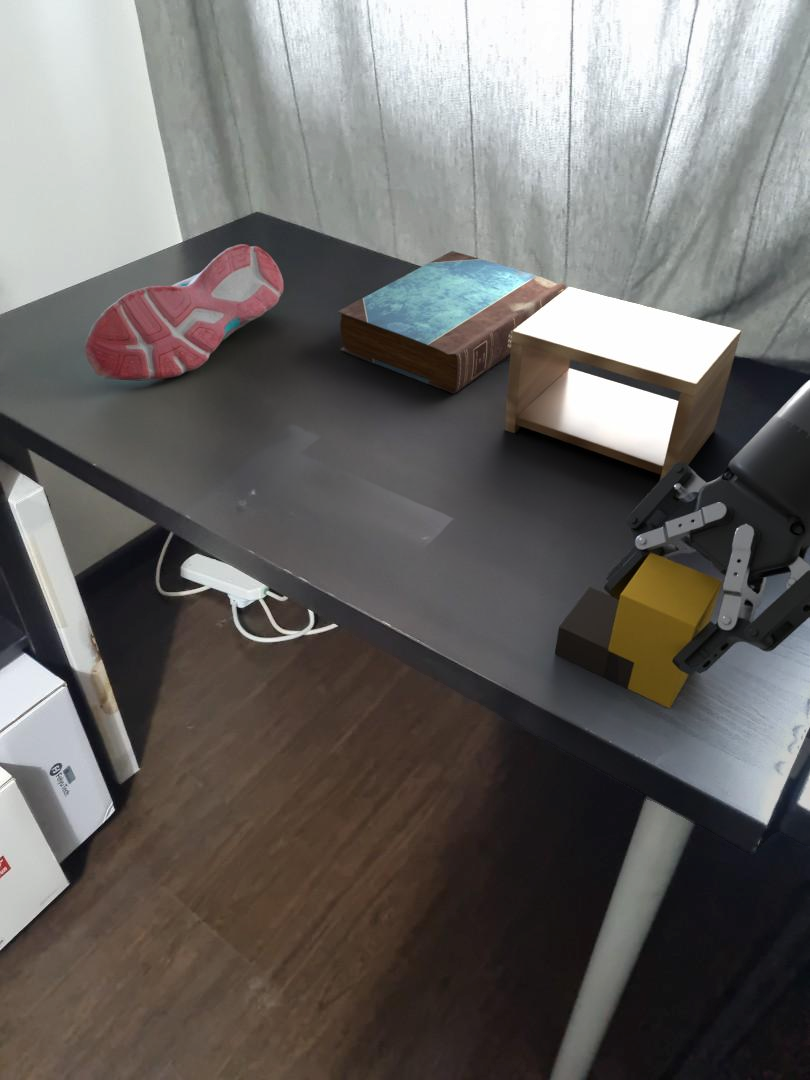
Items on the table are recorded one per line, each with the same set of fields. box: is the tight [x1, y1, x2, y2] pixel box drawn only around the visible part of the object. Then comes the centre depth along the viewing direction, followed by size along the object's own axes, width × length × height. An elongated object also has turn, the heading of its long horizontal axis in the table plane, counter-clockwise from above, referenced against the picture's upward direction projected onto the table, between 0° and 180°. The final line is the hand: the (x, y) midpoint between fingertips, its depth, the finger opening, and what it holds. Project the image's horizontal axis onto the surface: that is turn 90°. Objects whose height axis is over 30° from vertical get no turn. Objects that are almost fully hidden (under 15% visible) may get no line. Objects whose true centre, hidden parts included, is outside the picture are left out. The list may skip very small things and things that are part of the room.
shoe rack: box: [504, 286, 742, 481], centre depth 82 cm, size 18×12×11 cm, turn 55°
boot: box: [554, 553, 723, 709], centre depth 59 cm, size 9×5×8 cm, turn 55°
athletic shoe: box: [84, 243, 284, 382], centre depth 99 cm, size 27×9×12 cm
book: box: [337, 250, 566, 395], centre depth 100 cm, size 23×18×5 cm
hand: (645, 630), depth 57 cm, fingers closed on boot, 7 cm apart
